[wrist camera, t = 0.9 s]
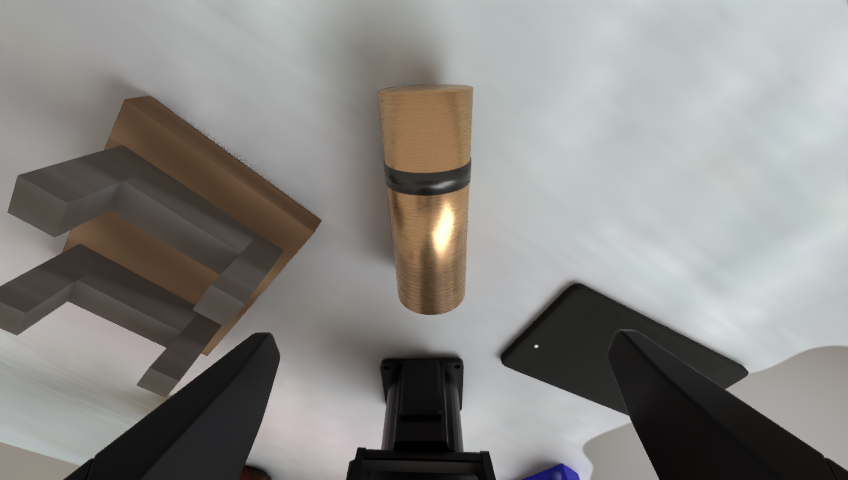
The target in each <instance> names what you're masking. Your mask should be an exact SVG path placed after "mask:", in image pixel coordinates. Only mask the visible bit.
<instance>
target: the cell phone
mask: <svg viewBox="0 0 848 480" xmlns="http://www.w3.org/2000/svg"><path fill="white" fill-rule="evenodd" d="M618 330H636V331H638V332H639V333H641V334H642V335H644V336H645V337H647V338H648V339H650V340H651V341H653V342H654V343H656V344H657V345H659V346H660V347H662V348H663V349H665V350H666V351H668V352H669V353H671V354H672V355H674V356H675V357H677V358H678V359H680V360H681V361H683V362H684V363H686V364H687V365H689V366H691V367H692V368H694V369H695V370H697V371H698V372H700V373H701V374H703V375H704V376H706V377H707V378H709V379H710V380H712V381H713V382H715V383H716V384H718V385H719V386H721V387H722V388H724V389H726V388H728V387H730V386H731V385H733V384H734V383H736V382H738V381H740V380H741V379H743V378H744V377H746V376H747V375H748V373H749V372H748V371H747V370H746V369H745V368H744V367H743V366H742V365H740V364H738V363H736V362H734V361H732V360H730V359H728V358H726V357H724V356H722V355H720V354H718V353H716V352H714V351H712V350H710V349H708V348H706V347H705V346H703V345H701V344H699V343H697V342H695V341H693V340H691V339H689V338H687V337H685V336H683V335H681V334H679V333H677V332H675V331H673V330H671V329H669V328H667V327H665V326H663V325H661V324H659V323H657V322H655V321H653V320H651V319H649V318H647V317H645V316H643V315H641V314H639V313H638V312H636V311H634V310H632V309H630V308H628V307H626V306H624V305H622V304H620V303H618V302H616V301H614V300H612V299H610V298H608V297H606V296H604V295H602V294H600V293H598V292H596V291H594V290H592V289H590V288H588V287H586V286H584V285H582V284H574V285H572V286H570V287H569V288H568V289H567V290H565V291H564V292H563V293H562V294H561V295H560V296H559V297H558V298H557V299H556V300H555V301H554V302H553V303H552V304H551V306H550V307H549V308H548V309H547V310H546V311H545V312H544V313H543V314H542V315H541V316H540V317H539V318H538V319H537V320H536V321H535V322H534V323H533V324H532V325H531V326H530V327H529V328H528V329H527V330H526V331H525V332H524V333H523V334H522V335H521V336H520V337H519V338H518V339H517V340H516V341H515V342H514V343H513V344H512V345H511V346H510V347H509V348H508V349H507V350H506V351H505V352H504V353H503V354H502V356H501V361H502V364H503V365H504V366H506V367H508V368H511V369H513V370H515V371H518V372H520V373H523V374H525V375H528V376H530V377H533V378H535V379H538V380H540V381H543V382H545V383H548V384H551V385H553V386H556V387H558V388H561V389H563V390H566V391H568V392H571V393H573V394H576V395H578V396H581V397H583V398H586V399H588V400H591V401H593V402H596V403H598V404H601V405H603V406H606V407H608V408H611V409H613V410H616V411H619V412H621V413H624V414H626V415H629V414H628V411H627V409H626V406H625V403H624V401H623V398H622V395H621V393H620V390H619V387H618V384H617V382H616V379H615V376H614V374H613V371H612V368H611V365H610V363H609V360H608V350H609V347H610V345H611V342H612V340H613V337H614V335H615V333H616V332H617V331H618Z"/></svg>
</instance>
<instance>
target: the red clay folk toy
mask: <svg viewBox="0 0 848 480" xmlns="http://www.w3.org/2000/svg"><path fill="white" fill-rule="evenodd" d="M239 480H271V477H270V476H268V475H267V474H266V473H264V472H262V471H260V470H256V469H252V468H250V467H244V468H243V470H242V473H241V475H240V478H239Z"/></svg>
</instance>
